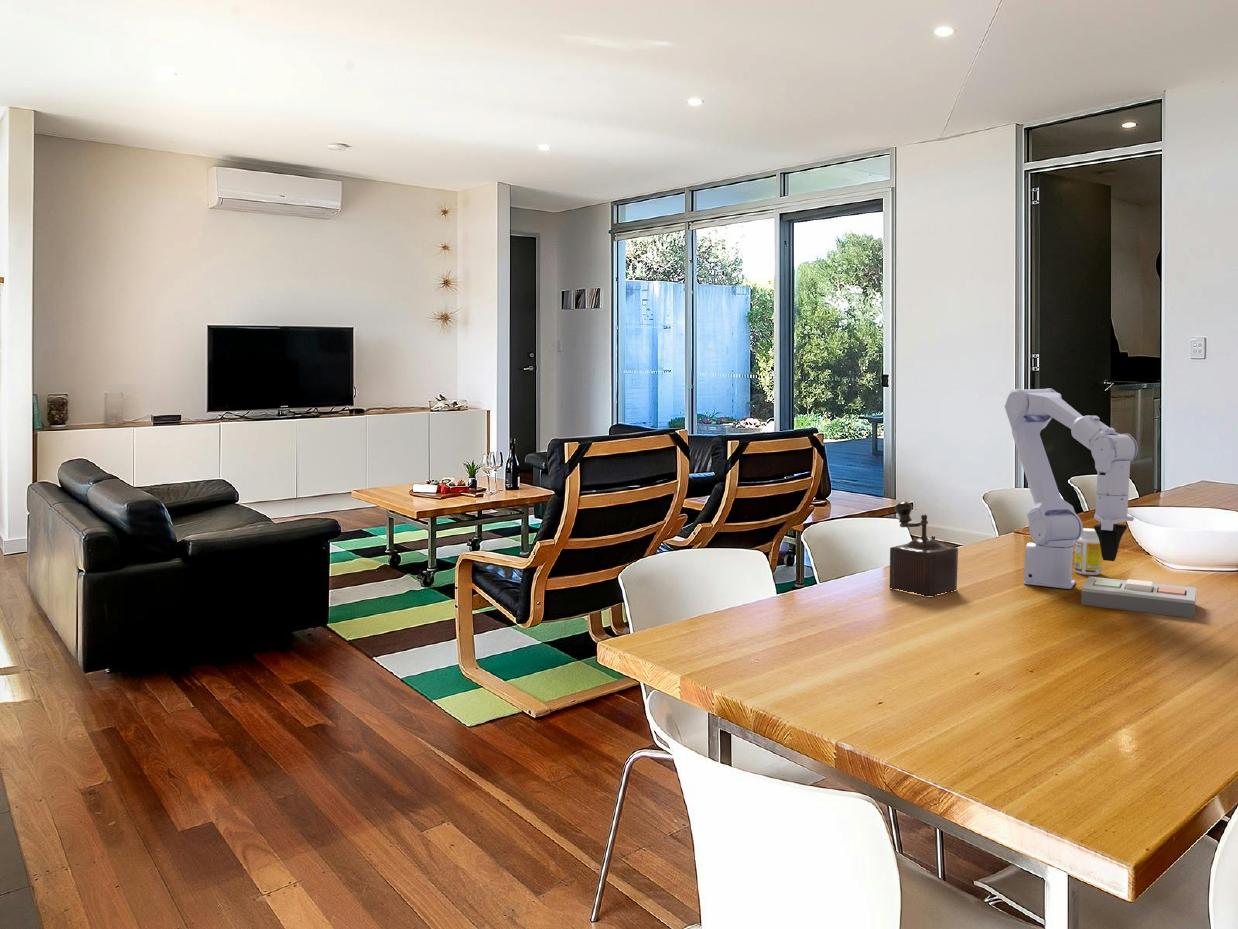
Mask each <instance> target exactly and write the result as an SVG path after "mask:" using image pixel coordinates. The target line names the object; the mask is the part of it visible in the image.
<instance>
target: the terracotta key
mask: <svg viewBox="0 0 1238 929" xmlns="http://www.w3.org/2000/svg"><path fill="white" fill-rule="evenodd" d="M1158 593H1165V594H1174V595H1183V596H1185V589H1179V588H1170V587H1161V586H1159V590H1158Z"/></svg>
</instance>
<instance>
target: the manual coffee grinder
mask: <svg viewBox="0 0 1238 929" xmlns="http://www.w3.org/2000/svg"><path fill="white" fill-rule="evenodd" d="M912 510H913V505H912V504H911V503H910V502H908V501H903V502H898V503H896V504H895V505H894V512H895V513H896V514H898V516H899V520H898V522H899V528H914V527H915V528H916V527H921V536H920V537H918V538H915V539H913V540H911V541H909V542H908V543H905V544H900V545H895V546H892V547H889V589H890V588H892V589H899V590H903V591H907V592H914V593H917V594H921V595H924V596H935V595H937V594H941V593H945V592H951V591H954V590H956V589H957V590H958V587H957V586H958V569H959V568H958V567H959V566H958V564H959V563H958V560H959V559H958V558H959V557H958V556H959V549H958V548H957V547H952V546H947V545H946V544H944V543H941V542H938V541H937V540H936V537H935V535H932V536H931V537H928V536H927V525H928V524H929V522H928V520H927V519H928V515H927V514H921V516H920V517H921V518H920V519H921V520H920V522H912V518H911V516H910V515H911V514H912V513H911V512H912ZM909 522H911V523H909ZM892 589H891V590H892ZM951 593H952V592H951ZM935 597H936V596H935Z"/></svg>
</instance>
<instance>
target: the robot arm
mask: <svg viewBox="0 0 1238 929" xmlns="http://www.w3.org/2000/svg"><path fill="white" fill-rule="evenodd" d="M1004 409H1005V412H1006V415H1007V418H1008V423H1009V425H1010V428H1011V433H1012V434H1011V435H1012V438H1013V441H1014V445H1015V447H1016V450H1017V453H1018V456H1019V460H1020V463H1021V466H1022V468H1023V473H1024V474H1025V477H1026V480H1027V484H1028V488H1029V490H1030V493H1031V497H1032V500H1033V502H1034V503H1033V504H1034V505H1033V506H1032V508H1031V509H1030V510H1029V511H1028V512H1027V513H1026V516H1027V520H1028V532H1029V535H1030V537H1031V539H1032V540H1033V542H1027V544H1026V545H1025V546H1026V547H1025V553H1024V570H1023V571H1024V572H1023V575H1024V576H1023V584H1025V585H1030V586H1039V587H1040V586H1041V587H1047V588H1056V589H1057V588H1058V589H1064V590H1065V589H1067V590H1071V589H1072V588H1073V586H1074V585H1075V583H1076V579H1072V578H1073V561H1074V560H1073V558H1074V557H1073V556H1074V555H1073V554H1074V546H1075V545H1076V541H1077V540H1078V539H1079V538H1080V537H1081V535H1082V532H1083V528H1084V527H1083V526H1084V525H1083V522H1082V520H1081V518H1080V516H1079V515H1078V514H1077V513H1076V511H1075V508H1074V506H1073V505H1072V504H1070V503H1069V502H1067V501H1066V500H1065V499H1063V498H1062V497H1061V494H1060V490H1059V489H1058V485H1057V482H1056V479H1055V475H1054V474H1053V470H1052V467H1051V464H1050V460H1049V458H1048V455H1047V452H1046V449H1045V446H1044V444H1043V439H1042V437H1041V432H1042V430H1044V429H1045V428H1046V427H1047V426H1048V424H1049V423H1050V422H1051V420H1053V419H1054V420H1055V421H1057V422H1059V423H1061V424H1062V425H1064V426H1065V427H1067V428H1069V429H1070V432H1071V437H1072V438H1073V439H1075V440H1076V441H1078V442H1079V444H1082V445H1083V446H1084V447H1086V448H1087V449H1088V450H1090V451H1091V457H1092V458H1093V460H1094V468H1095V470H1096V472H1097V474H1096V493H1095V494H1096V495H1095V513H1094V516H1093V518H1094V520H1096V521H1098V522H1100V524H1099V523H1098V524H1097V523H1096V524H1094V526H1093V529H1095V531H1096V533H1097V536H1098V538H1099V542H1100V547H1101V554H1102V561H1108V562H1109V561H1110V562H1115V561H1116V558H1117V555H1118V551H1119V546H1120V543H1121V540H1122V537H1123V535H1124V534H1125V532H1126V530H1127V528H1128V525H1126V524H1121V523H1125V522H1133V521H1135V517H1134V515H1133V516H1130V515H1128V510H1129V491H1130V490H1129V488H1130V473H1131V472H1130V471H1131V470H1130V469H1131V462H1133V461H1134V460H1136V457H1137V455H1138V452H1139V447H1138V443H1137V441H1136V439H1135V437H1133V436H1132V435H1131V434H1130V433H1119V432H1116V429H1115V428H1114V427H1109V426H1108V425H1106V423H1104V422H1102V421H1100V419H1101V418H1100V417H1099V416H1098V415H1084V416H1083V415H1082V414H1081V413H1080V412H1078V411H1077V410H1076V409H1074V408H1073V407H1072V406H1071V405H1070V404H1068V403H1067V401H1065V400H1064V399H1062V394H1061V393H1059V392H1057V391H1056V390H1055V389H1053V388H1048V387H1046V388H1037V389H1036V388H1035V389H1031V388H1029V389H1027V388H1025V389H1022V388H1015V389H1012V390H1011V391H1010V392H1009V394H1008V396H1007V398H1006V401H1005V404H1004Z"/></svg>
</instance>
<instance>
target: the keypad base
mask: <svg viewBox="0 0 1238 929" xmlns="http://www.w3.org/2000/svg"><path fill="white" fill-rule="evenodd" d="M1096 580H1105V581H1114V582H1121V588H1111V587H1102V586H1094V583H1095V582H1096ZM1127 580H1128V579H1126V580H1125V579H1116V578H1107V577H1098V576H1097V577H1096V576H1088V578H1087V579H1086V581H1085V582H1084V584H1083V585H1082V586H1081V599H1080V601H1081V602H1080V603H1081V605H1082V606H1091V607H1099V608H1105V609H1107V608H1108V609H1114V610H1115V609H1116V610H1125V611H1132V612H1139V613H1140V612H1141V613H1149V614H1157V615H1162V616H1163V615H1164V616H1165V615H1166V616H1172V617H1179V618H1188V619H1194V618H1195V611H1196V602H1197V587H1193V586H1183V585H1182V586H1181V585H1173V584H1172V585H1171V584H1164V583H1163V584H1161V583H1154V582H1153V586H1152V592H1147V591H1138V590H1129V589H1126V582H1127ZM1159 586H1161V587H1170V588H1179V589H1185V596H1183V595H1174V594H1165V593H1158V590H1159Z"/></svg>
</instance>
